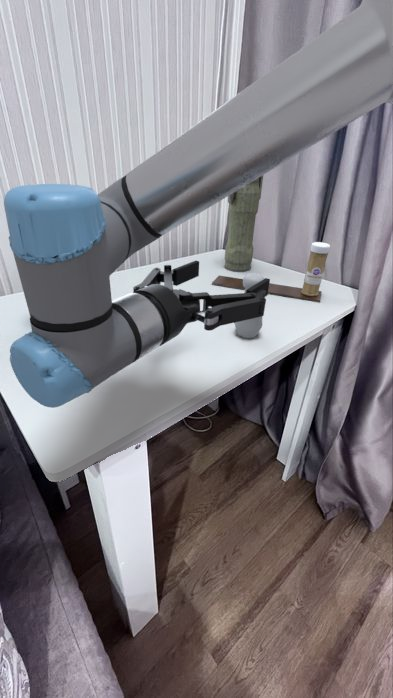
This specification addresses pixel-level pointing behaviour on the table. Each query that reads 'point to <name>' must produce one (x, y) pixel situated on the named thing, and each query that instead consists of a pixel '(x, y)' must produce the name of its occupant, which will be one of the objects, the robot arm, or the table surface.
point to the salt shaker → (253, 325)
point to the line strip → (273, 289)
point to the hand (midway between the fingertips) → (230, 276)
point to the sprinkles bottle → (315, 268)
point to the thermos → (242, 226)
